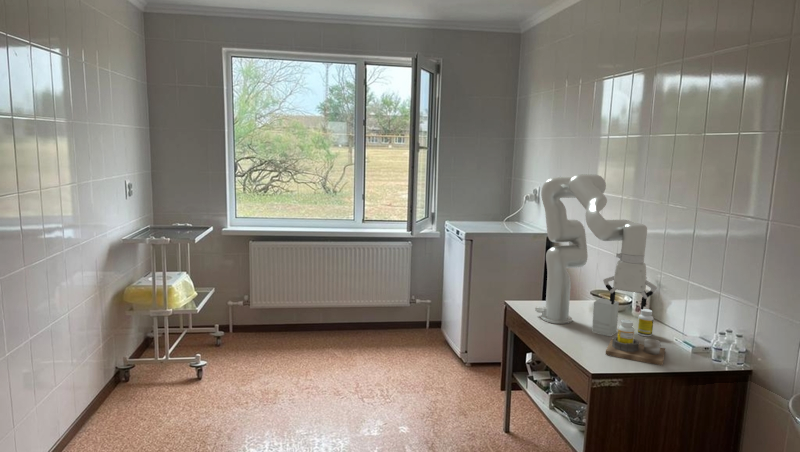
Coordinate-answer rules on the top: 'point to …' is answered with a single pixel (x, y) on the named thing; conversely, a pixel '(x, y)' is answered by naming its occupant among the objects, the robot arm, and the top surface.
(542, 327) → the top surface
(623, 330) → the supplement bottle
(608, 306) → the supplement box
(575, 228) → the robot arm
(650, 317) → the supplement bottle
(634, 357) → the carrier plate
